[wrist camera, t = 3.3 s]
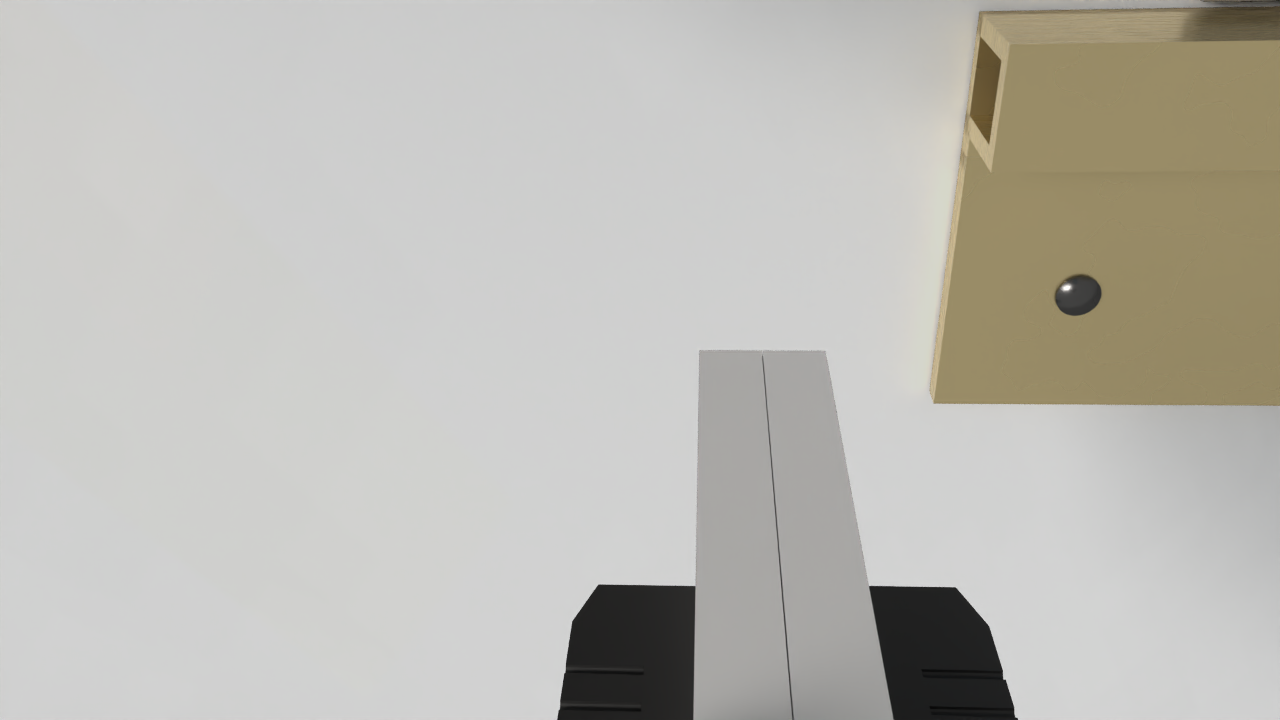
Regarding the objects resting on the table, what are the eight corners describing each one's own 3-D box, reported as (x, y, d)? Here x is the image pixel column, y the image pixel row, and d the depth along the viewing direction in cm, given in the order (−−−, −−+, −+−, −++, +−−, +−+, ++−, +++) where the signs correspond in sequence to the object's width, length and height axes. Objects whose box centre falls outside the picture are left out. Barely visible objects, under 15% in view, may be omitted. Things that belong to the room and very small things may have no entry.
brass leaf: (929, 390, 32) (949, 451, 29) (979, 11, 26) (1010, 44, 23) (1452, 393, 31) (1521, 456, 28) (1623, 0, 25) (1730, 33, 22)
